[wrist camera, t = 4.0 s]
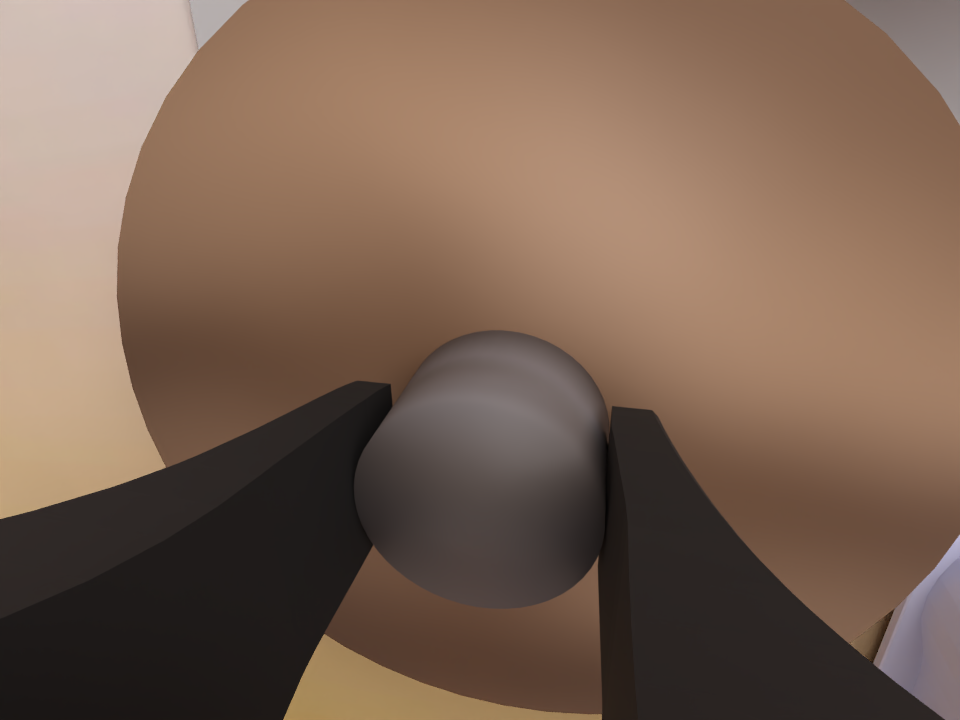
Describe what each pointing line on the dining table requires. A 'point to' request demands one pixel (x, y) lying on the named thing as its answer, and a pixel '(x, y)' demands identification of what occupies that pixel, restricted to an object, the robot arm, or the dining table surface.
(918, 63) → the grey mat
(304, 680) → the dining table surface
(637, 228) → the walnut lid
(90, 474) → the dining table surface
